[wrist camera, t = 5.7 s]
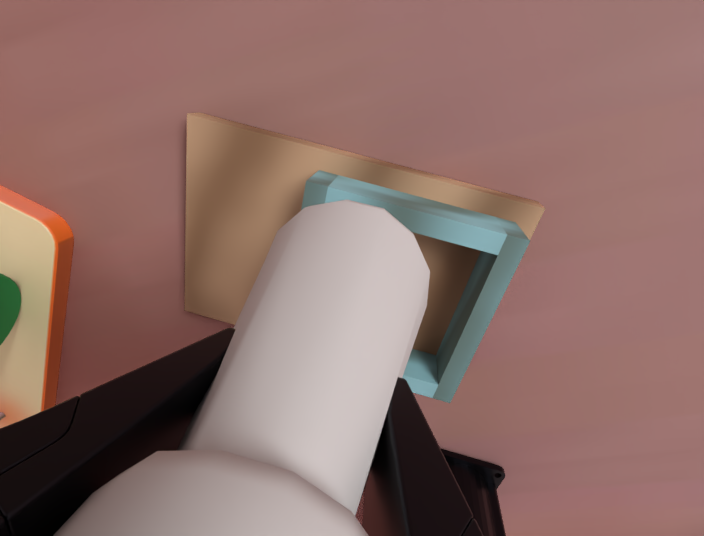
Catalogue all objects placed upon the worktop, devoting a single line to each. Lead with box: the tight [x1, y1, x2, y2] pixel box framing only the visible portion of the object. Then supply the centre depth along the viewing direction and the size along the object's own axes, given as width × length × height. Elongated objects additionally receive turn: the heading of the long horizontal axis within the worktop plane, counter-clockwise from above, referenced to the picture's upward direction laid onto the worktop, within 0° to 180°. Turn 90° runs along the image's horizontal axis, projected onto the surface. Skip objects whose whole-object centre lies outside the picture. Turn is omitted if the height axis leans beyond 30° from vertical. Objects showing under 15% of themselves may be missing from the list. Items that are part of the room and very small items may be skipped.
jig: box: [184, 113, 545, 403], centre depth 20 cm, size 18×12×4 cm, turn 77°
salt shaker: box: [53, 200, 430, 536], centre depth 9 cm, size 6×6×13 cm
